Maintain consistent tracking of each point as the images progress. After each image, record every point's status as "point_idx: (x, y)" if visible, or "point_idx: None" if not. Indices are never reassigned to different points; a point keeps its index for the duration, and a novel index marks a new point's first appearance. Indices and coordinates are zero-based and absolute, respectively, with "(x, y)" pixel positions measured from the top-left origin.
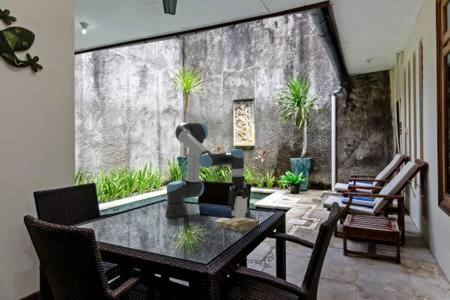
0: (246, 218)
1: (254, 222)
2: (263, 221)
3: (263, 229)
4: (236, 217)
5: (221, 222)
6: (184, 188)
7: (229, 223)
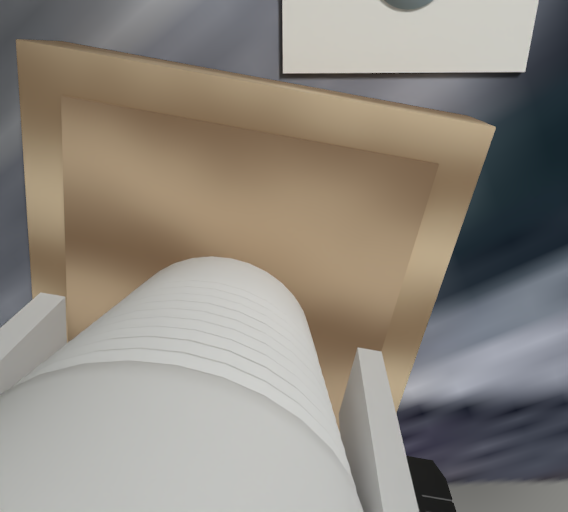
0: (406, 306)
1: None
2: (550, 399)
3: None
4: (409, 129)
5: (19, 65)
6: None
7: (46, 228)
